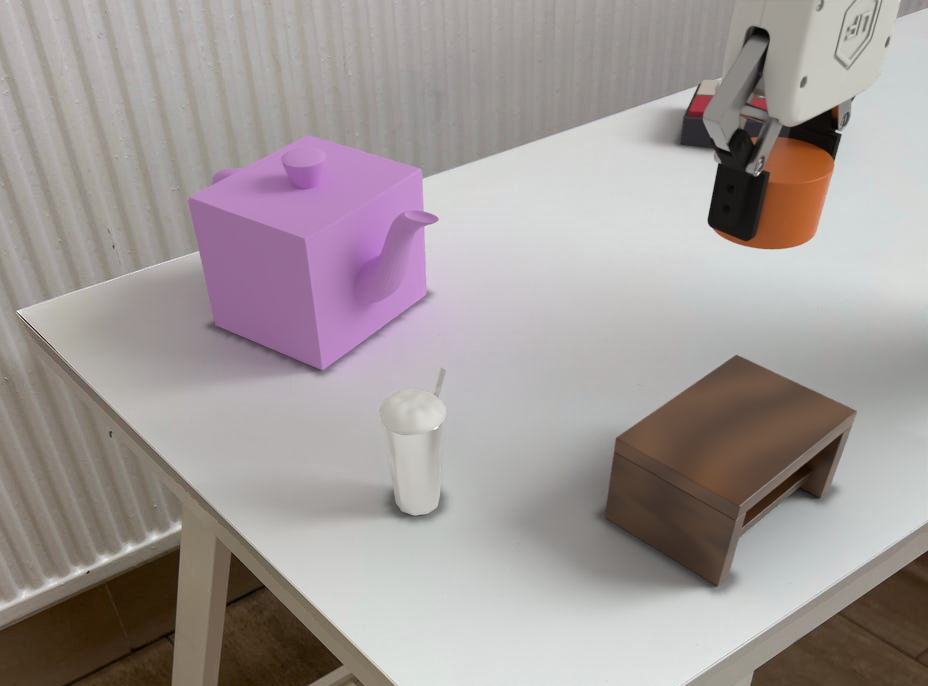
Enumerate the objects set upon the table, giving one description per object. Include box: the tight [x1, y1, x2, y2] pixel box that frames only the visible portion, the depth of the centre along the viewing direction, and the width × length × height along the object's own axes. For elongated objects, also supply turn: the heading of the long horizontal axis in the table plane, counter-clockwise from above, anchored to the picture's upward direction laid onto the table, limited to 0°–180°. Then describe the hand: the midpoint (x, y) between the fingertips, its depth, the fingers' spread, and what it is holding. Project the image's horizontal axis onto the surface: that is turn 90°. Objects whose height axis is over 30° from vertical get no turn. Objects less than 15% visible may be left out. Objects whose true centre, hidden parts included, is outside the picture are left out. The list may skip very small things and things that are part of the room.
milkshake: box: [379, 367, 447, 517], centre depth 69 cm, size 4×5×10 cm
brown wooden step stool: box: [604, 354, 858, 587], centre depth 69 cm, size 10×14×7 cm
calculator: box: [680, 79, 790, 147], centre depth 113 cm, size 11×4×15 cm
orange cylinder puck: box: [712, 137, 835, 250], centre depth 60 cm, size 7×7×4 cm
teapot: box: [187, 134, 440, 371], centre depth 85 cm, size 15×25×14 cm, turn 54°
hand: (766, 210), depth 60 cm, fingers closed on orange cylinder puck, 6 cm apart
